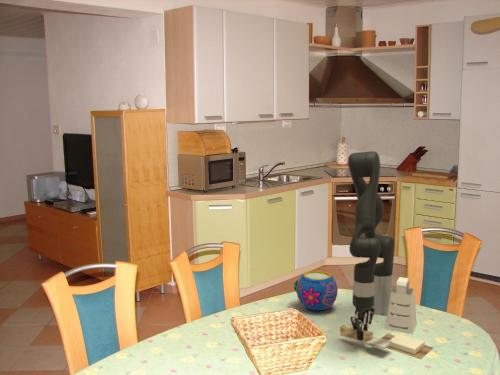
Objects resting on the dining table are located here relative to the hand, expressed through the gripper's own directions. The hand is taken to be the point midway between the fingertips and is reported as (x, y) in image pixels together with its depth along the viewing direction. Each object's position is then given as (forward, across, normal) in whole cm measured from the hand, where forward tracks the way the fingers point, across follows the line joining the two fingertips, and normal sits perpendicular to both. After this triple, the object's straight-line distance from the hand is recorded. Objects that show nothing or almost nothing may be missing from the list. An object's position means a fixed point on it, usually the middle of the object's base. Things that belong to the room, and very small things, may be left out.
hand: (362, 338), depth 190 cm
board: (+4, -10, +11) cm, 16 cm away
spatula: (0, 0, +1) cm, 1 cm away
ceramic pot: (+4, -21, -34) cm, 40 cm away
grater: (+4, -25, +3) cm, 26 cm away
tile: (+2, -10, +7) cm, 13 cm away
